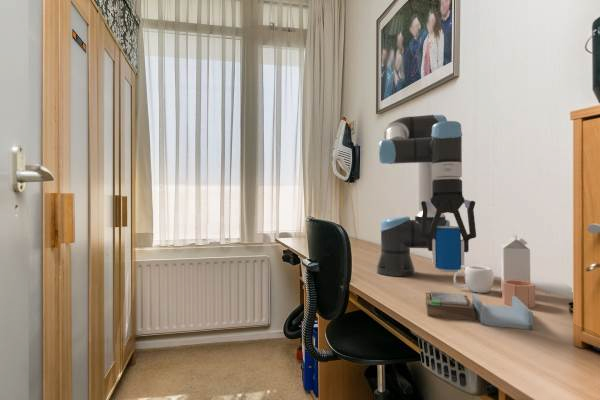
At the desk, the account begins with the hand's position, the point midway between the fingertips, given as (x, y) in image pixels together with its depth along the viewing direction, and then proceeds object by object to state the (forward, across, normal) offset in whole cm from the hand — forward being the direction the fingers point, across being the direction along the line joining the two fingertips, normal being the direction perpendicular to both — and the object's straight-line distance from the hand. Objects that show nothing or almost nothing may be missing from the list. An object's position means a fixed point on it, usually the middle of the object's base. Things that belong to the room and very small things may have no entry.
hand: (447, 263), depth 93 cm
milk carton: (+13, +22, +24) cm, 35 cm away
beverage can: (+2, 0, 0) cm, 2 cm away
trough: (+13, +12, -2) cm, 18 cm away
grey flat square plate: (+10, 0, 0) cm, 10 cm away
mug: (+13, +10, +25) cm, 30 cm away
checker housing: (+13, 0, 0) cm, 13 cm away
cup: (+13, +20, +13) cm, 27 cm away
